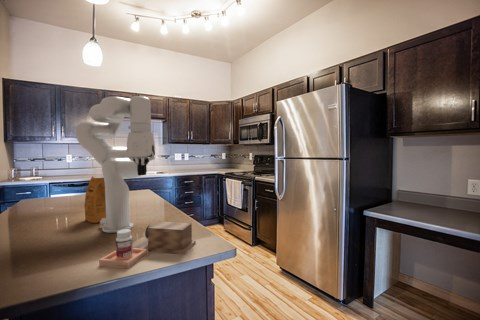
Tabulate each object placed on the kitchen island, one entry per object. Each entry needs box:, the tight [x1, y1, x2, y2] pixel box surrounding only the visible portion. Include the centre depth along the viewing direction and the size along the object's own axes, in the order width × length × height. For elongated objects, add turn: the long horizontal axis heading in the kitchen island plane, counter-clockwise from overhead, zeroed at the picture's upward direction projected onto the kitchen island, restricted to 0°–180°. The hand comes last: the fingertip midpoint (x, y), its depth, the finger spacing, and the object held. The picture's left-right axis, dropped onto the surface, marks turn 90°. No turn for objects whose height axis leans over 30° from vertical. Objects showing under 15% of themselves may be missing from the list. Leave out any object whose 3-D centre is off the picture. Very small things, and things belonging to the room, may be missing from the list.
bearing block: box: [133, 221, 197, 255], centre depth 87 cm, size 22×10×8 cm, turn 78°
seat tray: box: [98, 248, 149, 269], centre depth 76 cm, size 10×10×2 cm
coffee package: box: [84, 175, 106, 224], centre depth 121 cm, size 10×12×22 cm
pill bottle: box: [115, 229, 134, 260], centre depth 76 cm, size 5×5×8 cm
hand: (142, 174), depth 95 cm, fingers closed
